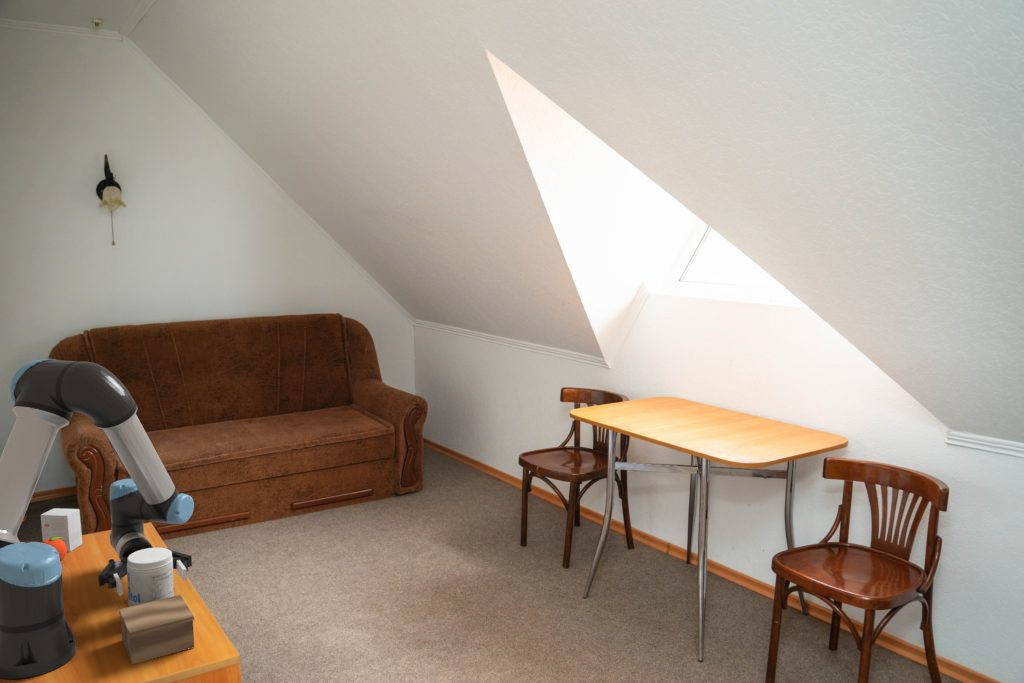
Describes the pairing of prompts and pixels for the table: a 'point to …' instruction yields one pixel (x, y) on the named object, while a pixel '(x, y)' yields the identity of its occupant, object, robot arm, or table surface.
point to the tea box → (157, 628)
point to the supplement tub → (149, 575)
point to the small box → (62, 526)
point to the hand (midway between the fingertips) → (153, 582)
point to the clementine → (58, 546)
